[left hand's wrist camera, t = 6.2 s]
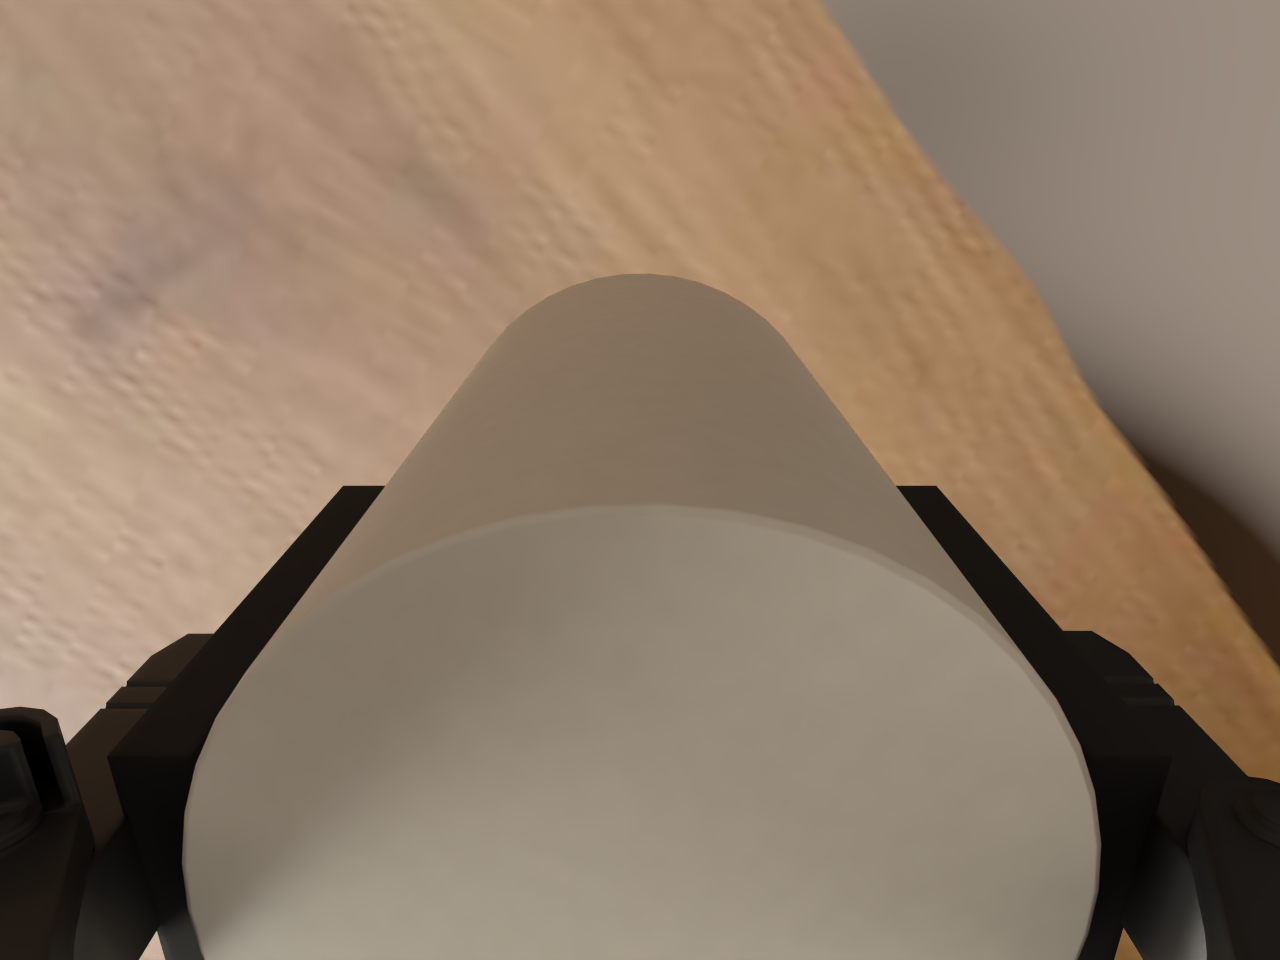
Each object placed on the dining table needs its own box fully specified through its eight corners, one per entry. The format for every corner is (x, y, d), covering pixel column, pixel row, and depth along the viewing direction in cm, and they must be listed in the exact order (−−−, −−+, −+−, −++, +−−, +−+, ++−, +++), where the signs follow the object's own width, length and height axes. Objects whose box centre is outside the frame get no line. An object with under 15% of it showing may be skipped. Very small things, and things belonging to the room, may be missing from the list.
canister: (407, 321, 17) (2, 626, 6) (793, 232, 17) (1090, 397, 6) (514, 647, 20) (364, 1245, 9) (847, 582, 20) (1114, 1142, 9)
